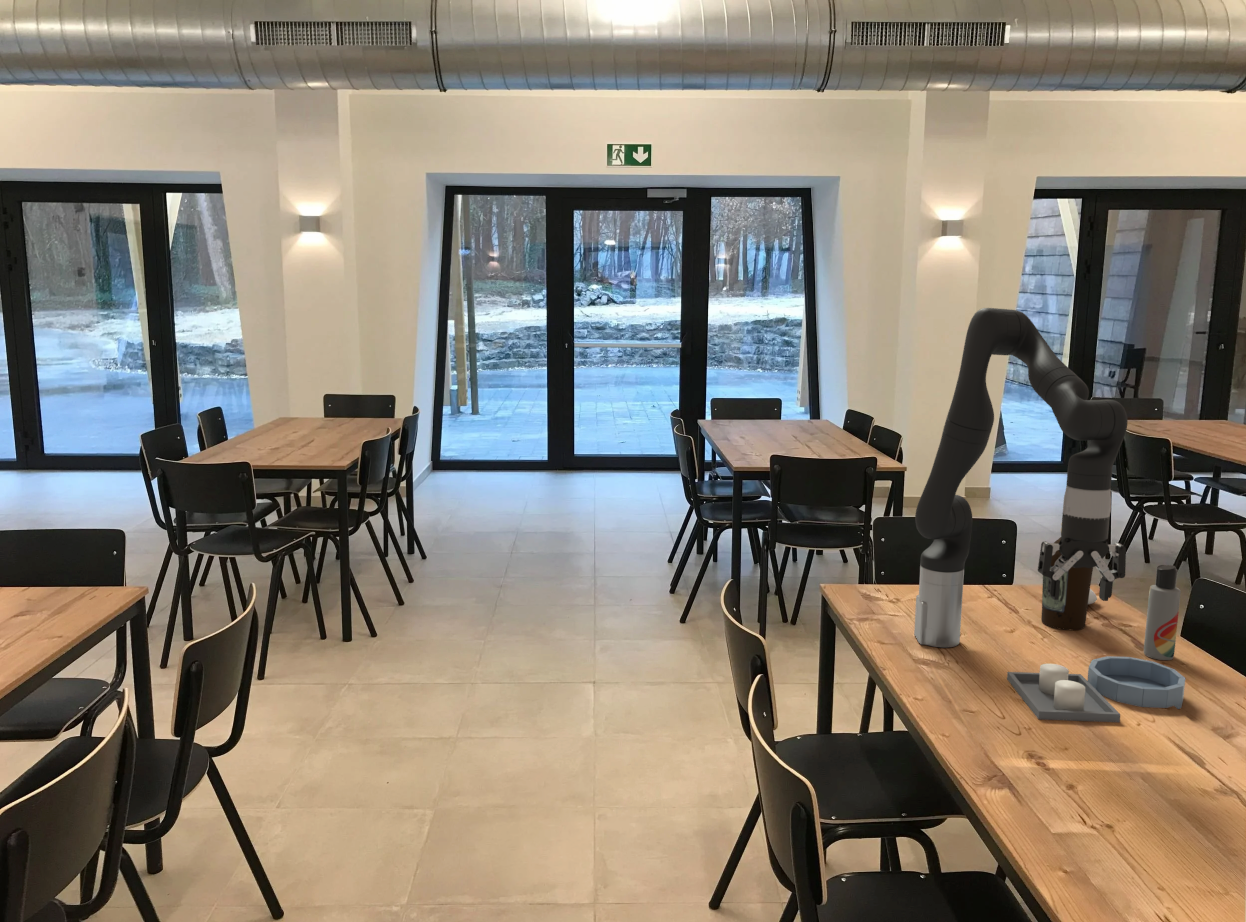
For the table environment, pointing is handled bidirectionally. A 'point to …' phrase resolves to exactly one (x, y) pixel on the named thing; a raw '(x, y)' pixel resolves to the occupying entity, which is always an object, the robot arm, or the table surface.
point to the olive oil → (1067, 598)
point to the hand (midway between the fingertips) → (1078, 599)
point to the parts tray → (1043, 703)
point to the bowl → (1137, 682)
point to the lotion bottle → (1162, 614)
